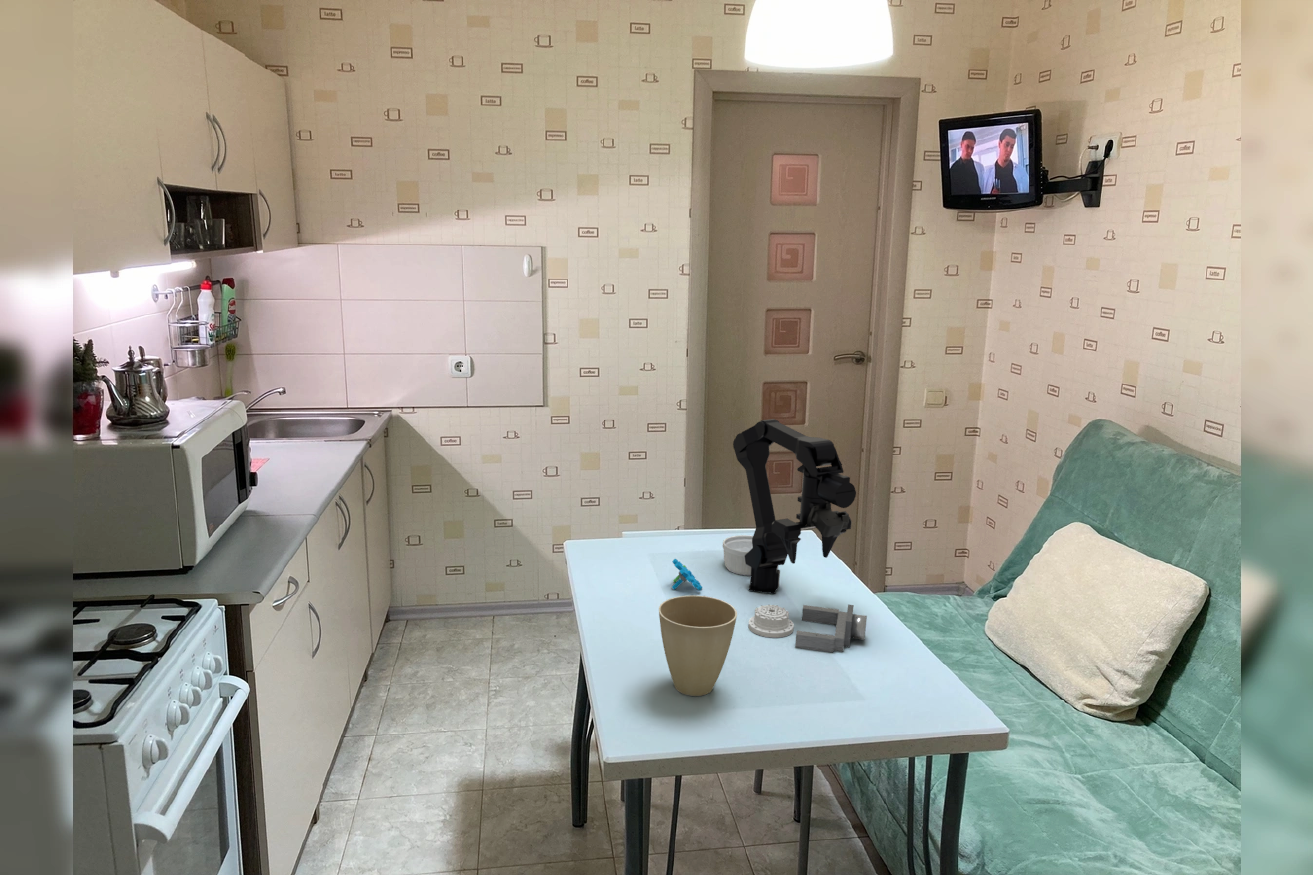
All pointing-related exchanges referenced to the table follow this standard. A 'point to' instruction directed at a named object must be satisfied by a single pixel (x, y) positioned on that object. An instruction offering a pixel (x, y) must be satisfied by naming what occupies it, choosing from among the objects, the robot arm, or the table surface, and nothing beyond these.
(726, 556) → the ramekin
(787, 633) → the mechanical component
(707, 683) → the plant pot
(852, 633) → the clevis bracket
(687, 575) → the gear
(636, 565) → the table surface
